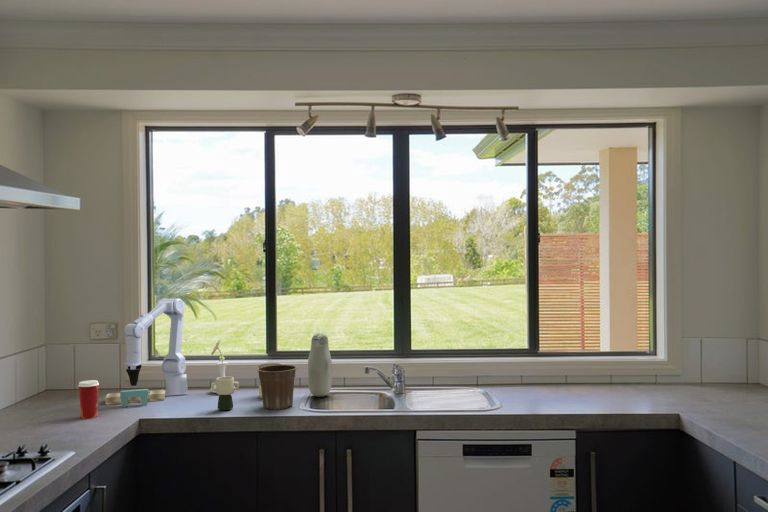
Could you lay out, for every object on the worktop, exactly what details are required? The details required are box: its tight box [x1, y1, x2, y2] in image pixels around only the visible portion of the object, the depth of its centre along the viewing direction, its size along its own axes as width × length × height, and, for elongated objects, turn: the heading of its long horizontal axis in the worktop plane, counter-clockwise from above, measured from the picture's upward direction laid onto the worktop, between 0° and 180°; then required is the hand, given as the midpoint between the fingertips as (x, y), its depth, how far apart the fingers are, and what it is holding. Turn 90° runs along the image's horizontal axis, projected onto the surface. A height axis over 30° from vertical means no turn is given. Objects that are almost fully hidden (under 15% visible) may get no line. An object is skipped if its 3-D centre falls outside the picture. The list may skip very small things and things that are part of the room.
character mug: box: [210, 376, 240, 411], centre depth 264 cm, size 11×7×13 cm, turn 102°
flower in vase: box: [209, 339, 236, 394], centre depth 298 cm, size 13×11×25 cm
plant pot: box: [256, 364, 297, 411], centre depth 269 cm, size 16×16×16 cm
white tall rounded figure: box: [307, 333, 333, 398], centre depth 287 cm, size 10×10×28 cm
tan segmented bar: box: [104, 389, 166, 406], centre depth 284 cm, size 24×9×3 cm, turn 108°
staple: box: [119, 388, 149, 408], centre depth 274 cm, size 11×3×6 cm, turn 108°
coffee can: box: [257, 362, 282, 399], centre depth 289 cm, size 10×10×14 cm
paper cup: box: [77, 379, 100, 420], centre depth 255 cm, size 8×8×14 cm
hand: (134, 384), depth 274 cm, fingers open, 7 cm apart
